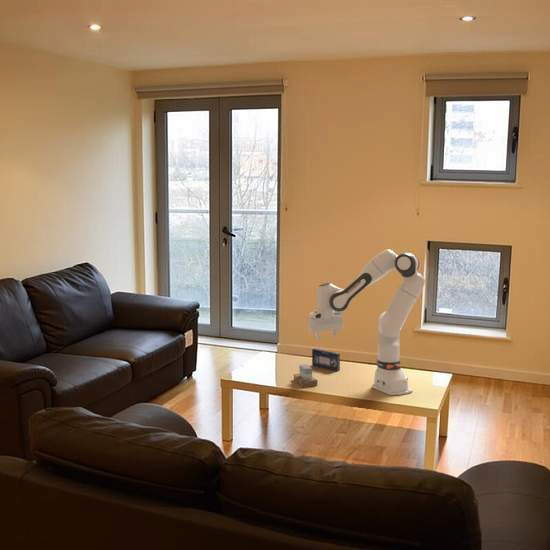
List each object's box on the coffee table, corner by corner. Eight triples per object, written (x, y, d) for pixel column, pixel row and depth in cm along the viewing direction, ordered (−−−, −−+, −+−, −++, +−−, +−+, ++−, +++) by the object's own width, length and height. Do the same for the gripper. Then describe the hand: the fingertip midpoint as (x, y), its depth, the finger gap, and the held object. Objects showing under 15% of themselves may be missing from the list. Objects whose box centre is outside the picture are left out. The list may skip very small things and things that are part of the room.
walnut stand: (317, 385, 359) (317, 380, 359) (303, 387, 357) (303, 381, 356) (307, 378, 372) (307, 373, 372) (293, 379, 370) (293, 374, 369)
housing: (306, 374, 368) (306, 364, 368) (312, 379, 361) (312, 368, 360) (299, 375, 367) (299, 364, 366) (305, 379, 360) (305, 368, 359)
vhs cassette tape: (311, 365, 397) (311, 349, 395) (315, 364, 399) (315, 348, 397) (336, 371, 385) (337, 354, 383) (340, 370, 387) (340, 353, 385)
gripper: (340, 309, 372) (341, 334, 374) (306, 313, 365) (307, 338, 367) (345, 311, 366) (346, 336, 368) (311, 316, 359) (311, 341, 361)
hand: (326, 337), depth 368 cm, fingers open, 8 cm apart
